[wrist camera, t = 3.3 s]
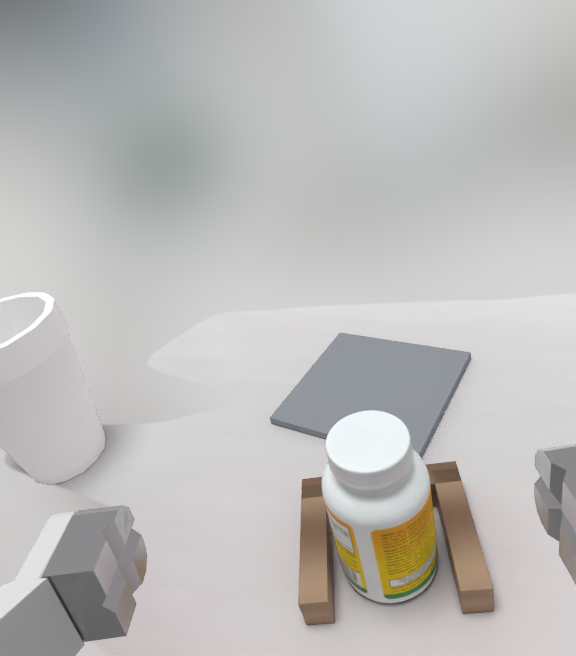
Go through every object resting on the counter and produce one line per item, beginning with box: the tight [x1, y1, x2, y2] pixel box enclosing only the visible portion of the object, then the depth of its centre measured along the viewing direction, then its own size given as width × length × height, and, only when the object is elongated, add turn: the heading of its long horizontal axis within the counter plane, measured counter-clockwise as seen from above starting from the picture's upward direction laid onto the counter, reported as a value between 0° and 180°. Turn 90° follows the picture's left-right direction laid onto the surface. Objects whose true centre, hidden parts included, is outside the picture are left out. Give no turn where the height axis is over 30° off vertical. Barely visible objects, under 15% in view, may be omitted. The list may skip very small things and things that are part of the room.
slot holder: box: [298, 461, 494, 625], centre depth 29 cm, size 8×10×2 cm
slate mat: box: [270, 333, 471, 457], centre depth 41 cm, size 12×12×1 cm
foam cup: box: [0, 293, 105, 485], centre depth 40 cm, size 10×9×13 cm
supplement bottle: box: [322, 410, 438, 603], centre depth 27 cm, size 5×5×10 cm
